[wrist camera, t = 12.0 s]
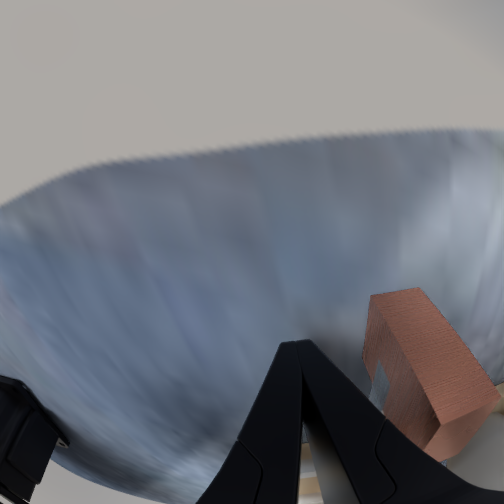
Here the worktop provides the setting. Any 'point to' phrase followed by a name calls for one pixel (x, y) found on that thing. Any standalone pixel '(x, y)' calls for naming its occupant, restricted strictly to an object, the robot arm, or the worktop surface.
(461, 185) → the worktop surface
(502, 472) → the salt shaker
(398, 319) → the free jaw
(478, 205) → the worktop surface
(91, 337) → the worktop surface
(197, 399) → the worktop surface
